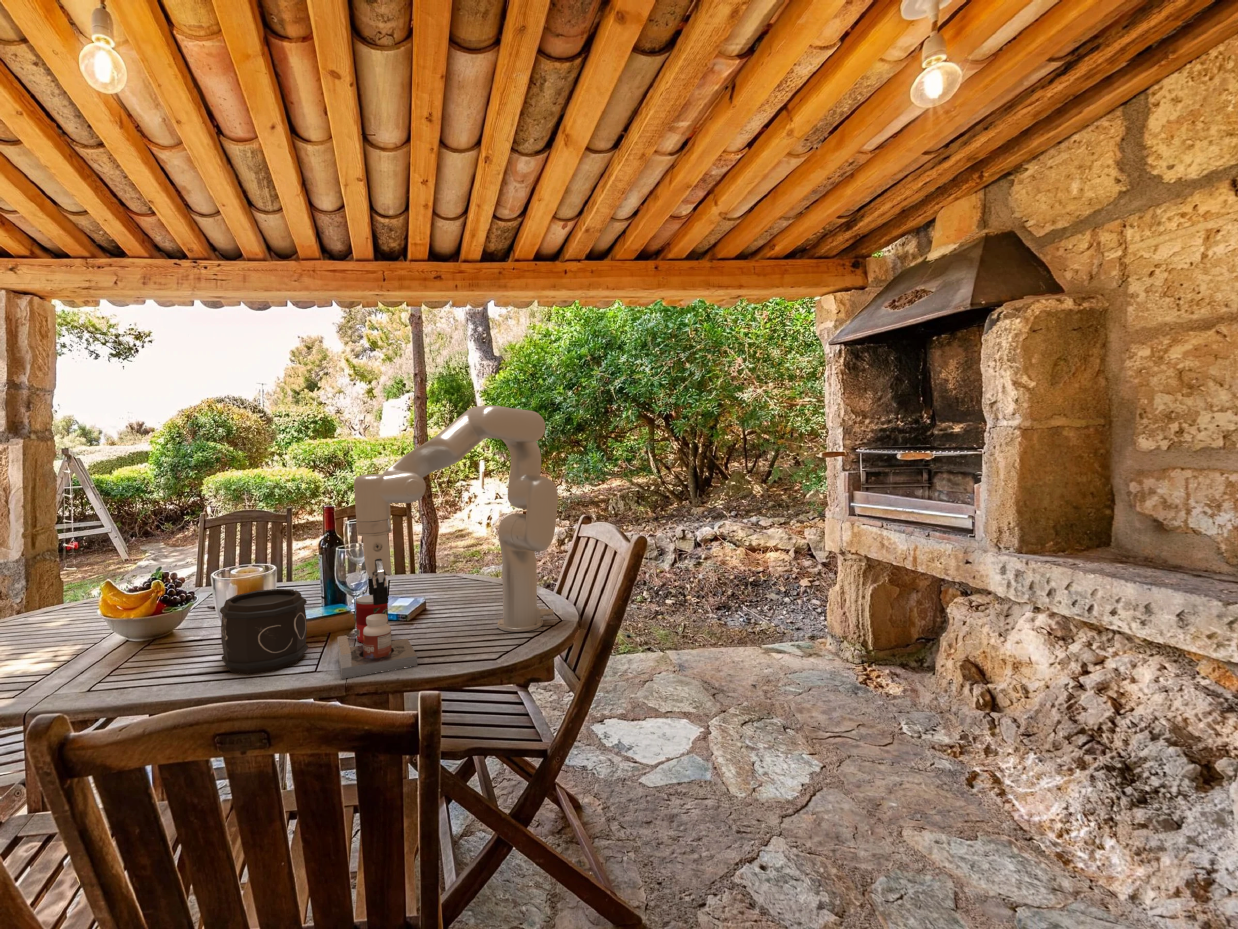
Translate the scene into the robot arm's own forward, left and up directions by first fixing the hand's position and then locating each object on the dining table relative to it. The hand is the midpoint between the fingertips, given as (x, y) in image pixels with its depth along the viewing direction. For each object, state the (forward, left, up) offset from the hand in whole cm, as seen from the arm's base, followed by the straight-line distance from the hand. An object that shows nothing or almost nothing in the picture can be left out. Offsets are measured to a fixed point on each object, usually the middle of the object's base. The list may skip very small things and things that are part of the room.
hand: (378, 598), depth 144 cm
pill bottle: (+1, 0, -15) cm, 15 cm away
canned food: (0, -19, -15) cm, 24 cm away
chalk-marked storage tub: (+24, -14, -15) cm, 31 cm away
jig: (+1, 0, -15) cm, 15 cm away
